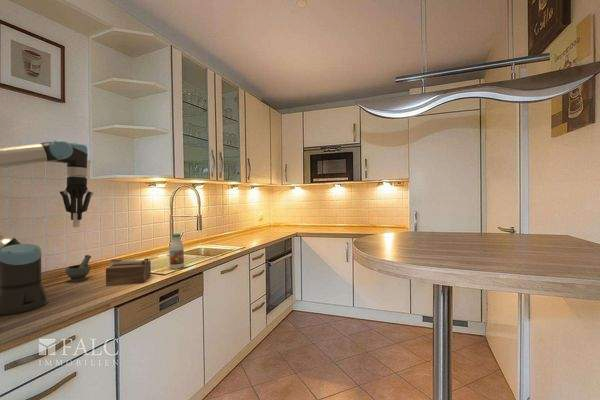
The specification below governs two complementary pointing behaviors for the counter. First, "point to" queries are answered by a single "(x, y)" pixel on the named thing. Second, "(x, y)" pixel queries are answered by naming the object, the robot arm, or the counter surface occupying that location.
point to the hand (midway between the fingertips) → (76, 227)
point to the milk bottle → (176, 252)
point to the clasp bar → (126, 261)
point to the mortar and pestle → (79, 270)
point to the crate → (128, 273)
